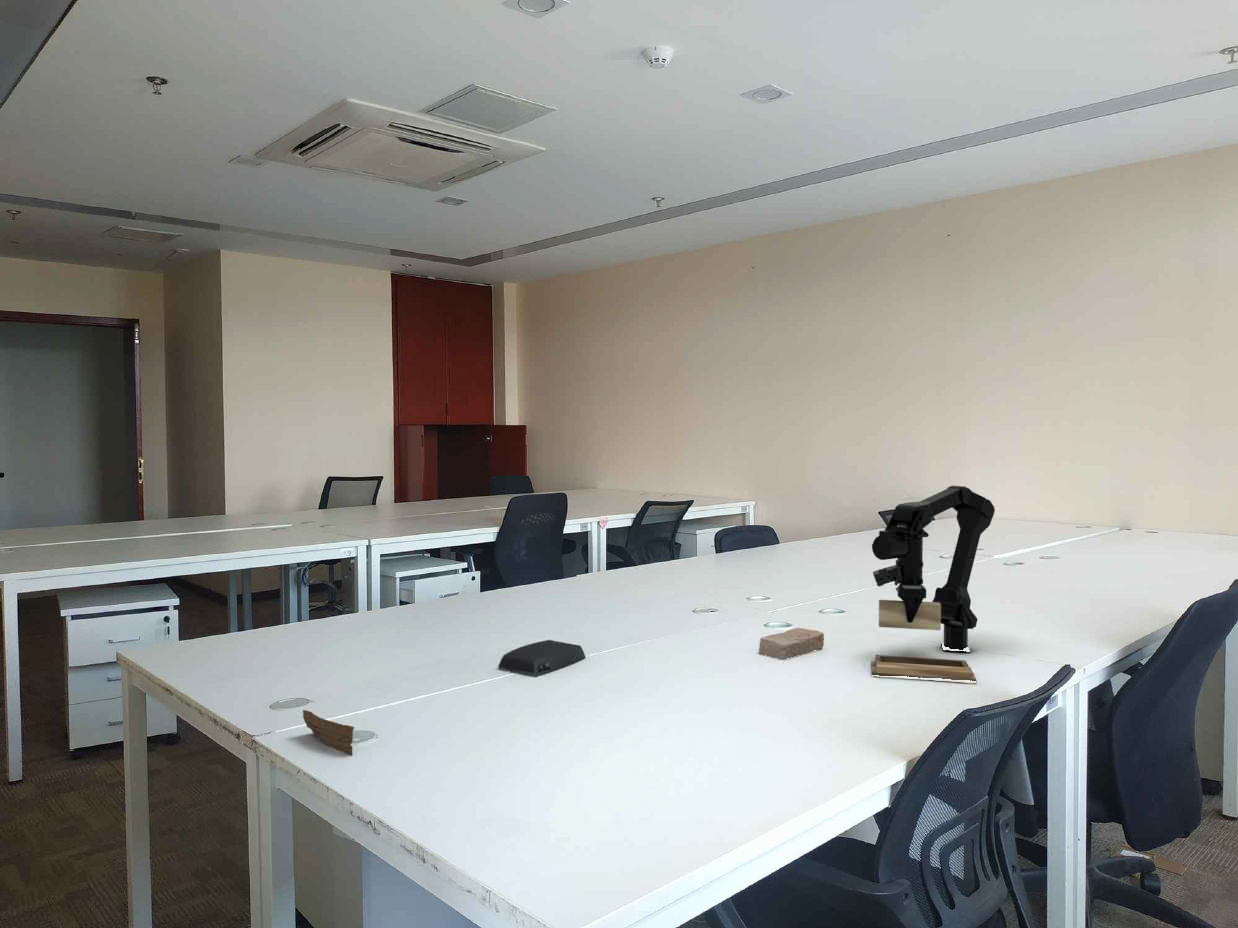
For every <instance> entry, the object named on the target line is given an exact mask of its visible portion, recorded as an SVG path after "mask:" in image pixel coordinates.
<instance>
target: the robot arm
mask: <svg viewBox="0 0 1238 928" xmlns="http://www.w3.org/2000/svg"><path fill="white" fill-rule="evenodd" d="M949 509H953V510H954V511H956V512H957V513H956V521H957V523H958V526H959V532H958V537H957V541H956V544H955V549H954V553H953V557H952V561H951V564H950V568H949V571H948V576H947V580H946V583H945V584H944V585H942V587H936V589H935V591H934V597H933V599H932V601H931V602H939V603H940V605H941V624H942V625H943V643H944V646H945V647H949V648H950V649H959V650H963V649H964V648H966V647H969V644H968V642H969V639H968V638H969V630H973V629H974V628H976V627H977V624H978V617H977V616H976V614H974V612H973V611H972V610H971V602H972V600H971V596H970V593H969V591H968V588H969V587H968V586H969V582H970V578H971V573H972V571H973V566H974V561H975V559H976V555H977V550H978V546H979V543H980V538H981V535H982V534H983V532H985V531H986V530H987V529H988V528H989V527H990V525H991V523H992V521H993V518H994V515H995V512H996V509H995V505H994V504H993V502H992V501H991V500H990V499H987V498H986V497H984V496H983V495H980V494H978V493H977V492H974V491H972V490H971V489H970V488H969V487H967V486H963V485H950V486H948V487H947V488H946V489H944V490H941V491H939V492H937V493H935V494H932V495H931V496H929V497H926V498H924V499H922V500H919V501H913V502H912V501H911V502H909V501H908V502H904V503H899V504H898V505H896V506H895V507H894V511H893V513H892V514H891V517H890V518H889V520H888V523H887V525H886V527H885V528H884V530H879V532H878V536H877V537H875V538H874V540H873V542H872V544H871V550H872V553H873V555H874V556H875V557H876V558H877V559H878V560H880V561H885V560H894V559H896V560H895V564H894V565H891V566H887V567H883V568H881V569H880V568H878V569H877V570H874V571H872V576H873V577H874V580H875V583H876V586H877V587H883V586H884V585H886V584H890V583H892V582H894V583H893V584H894V586H897V587H895V591H896V592H897V597H898V598H900V600H901V601H904V606H905V611H906V617H907V622H909V623H912V622H913V620H914V617H915V615H916V613H917V611H918V609H919V607H920V605H921V603H922V602H924V600H925V599H927V589H926V587H925V586H924V578H923V568H924V561H923V552H924V551H923V548H924V547H923V545H924V539H923V538H929V533H928V532H927V531H925V528H926V527H927V526H928V525H929V524H930V523H932V520H933V518H934V517H935V516H937V515H940V514H942V513H944V512H945V511H948V510H949Z"/></svg>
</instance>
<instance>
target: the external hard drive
mask: <svg viewBox="0 0 1238 928" xmlns="http://www.w3.org/2000/svg"><path fill="white" fill-rule="evenodd" d="M585 659H586V654H585V651H584V649H583V647H582V645H579V644H573V643H567V642H563V641H558V640H552V639H546V640H541V641H537V642H532V643H528V644H526V645H522V646H520V647H517V648H515V649H513V650H510V651H507V652H506V653H504V654H503V655H502V657H501V659H500V661H499V663H498V666H497V670H498V669H499V671H503V670H505V671H504V672H508V671H510V672H509V673H514V674H517V673H518V675H523V676H527V677H532V678H537V677H540V676H544V675H547V674H551V673H553V672H557V671H559V670H561V669H564V668H567V667H569V666H572V665H574V664H575V665H576V664H578V663H579V662H581V661H583V660H585Z"/></svg>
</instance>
